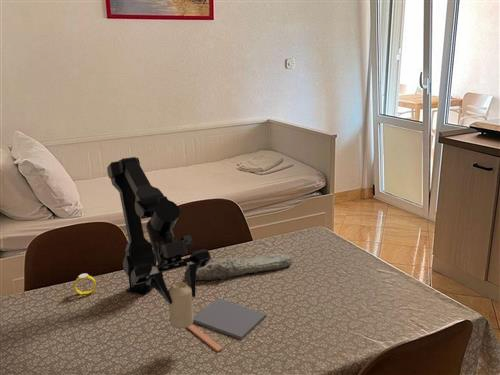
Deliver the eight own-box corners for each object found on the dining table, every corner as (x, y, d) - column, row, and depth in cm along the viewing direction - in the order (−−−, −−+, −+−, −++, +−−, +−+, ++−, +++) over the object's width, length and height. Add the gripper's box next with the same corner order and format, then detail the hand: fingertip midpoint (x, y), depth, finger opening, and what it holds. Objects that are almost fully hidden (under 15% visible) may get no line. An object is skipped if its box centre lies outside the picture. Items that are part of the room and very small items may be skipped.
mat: (191, 321, 126) (190, 318, 126) (217, 300, 136) (217, 298, 135) (241, 339, 118) (241, 336, 117) (266, 316, 127) (266, 314, 127)
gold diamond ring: (75, 297, 140) (71, 279, 138) (76, 293, 142) (72, 275, 140) (97, 293, 141) (93, 275, 139) (97, 289, 143) (93, 271, 142)
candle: (190, 329, 111) (187, 291, 108) (167, 328, 111) (164, 289, 108) (196, 316, 116) (194, 279, 113) (174, 315, 117) (171, 278, 114)
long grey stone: (297, 273, 154) (285, 262, 164) (297, 258, 153) (286, 247, 162) (189, 285, 144) (184, 272, 153) (189, 269, 143) (184, 257, 152)
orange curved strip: (177, 320, 126) (177, 318, 126) (182, 318, 127) (182, 316, 127) (217, 352, 113) (217, 350, 113) (222, 349, 114) (222, 347, 114)
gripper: (129, 234, 106) (150, 300, 100) (206, 217, 114) (229, 278, 109) (123, 253, 114) (141, 315, 109) (194, 237, 123) (215, 293, 117)
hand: (182, 300), depth 111 cm, fingers closed on candle, 5 cm apart
